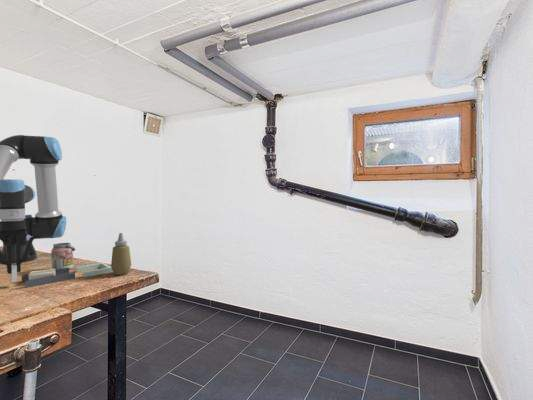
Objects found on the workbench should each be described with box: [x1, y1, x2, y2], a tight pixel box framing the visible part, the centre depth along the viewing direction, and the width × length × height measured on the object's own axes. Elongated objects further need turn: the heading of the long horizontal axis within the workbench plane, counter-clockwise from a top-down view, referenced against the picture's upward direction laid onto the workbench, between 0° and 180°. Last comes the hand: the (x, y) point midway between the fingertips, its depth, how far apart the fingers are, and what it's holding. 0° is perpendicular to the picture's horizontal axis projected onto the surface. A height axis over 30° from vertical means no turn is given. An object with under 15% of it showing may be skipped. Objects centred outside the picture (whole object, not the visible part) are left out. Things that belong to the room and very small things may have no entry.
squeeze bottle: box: [110, 232, 132, 276], centre depth 127 cm, size 8×8×18 cm
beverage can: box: [50, 242, 76, 271], centre depth 134 cm, size 9×8×12 cm
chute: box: [20, 268, 76, 288], centre depth 118 cm, size 11×16×2 cm
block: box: [28, 268, 55, 280], centre depth 117 cm, size 6×8×4 cm
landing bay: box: [75, 262, 113, 278], centre depth 130 cm, size 12×11×2 cm
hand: (14, 281), depth 111 cm, fingers closed
